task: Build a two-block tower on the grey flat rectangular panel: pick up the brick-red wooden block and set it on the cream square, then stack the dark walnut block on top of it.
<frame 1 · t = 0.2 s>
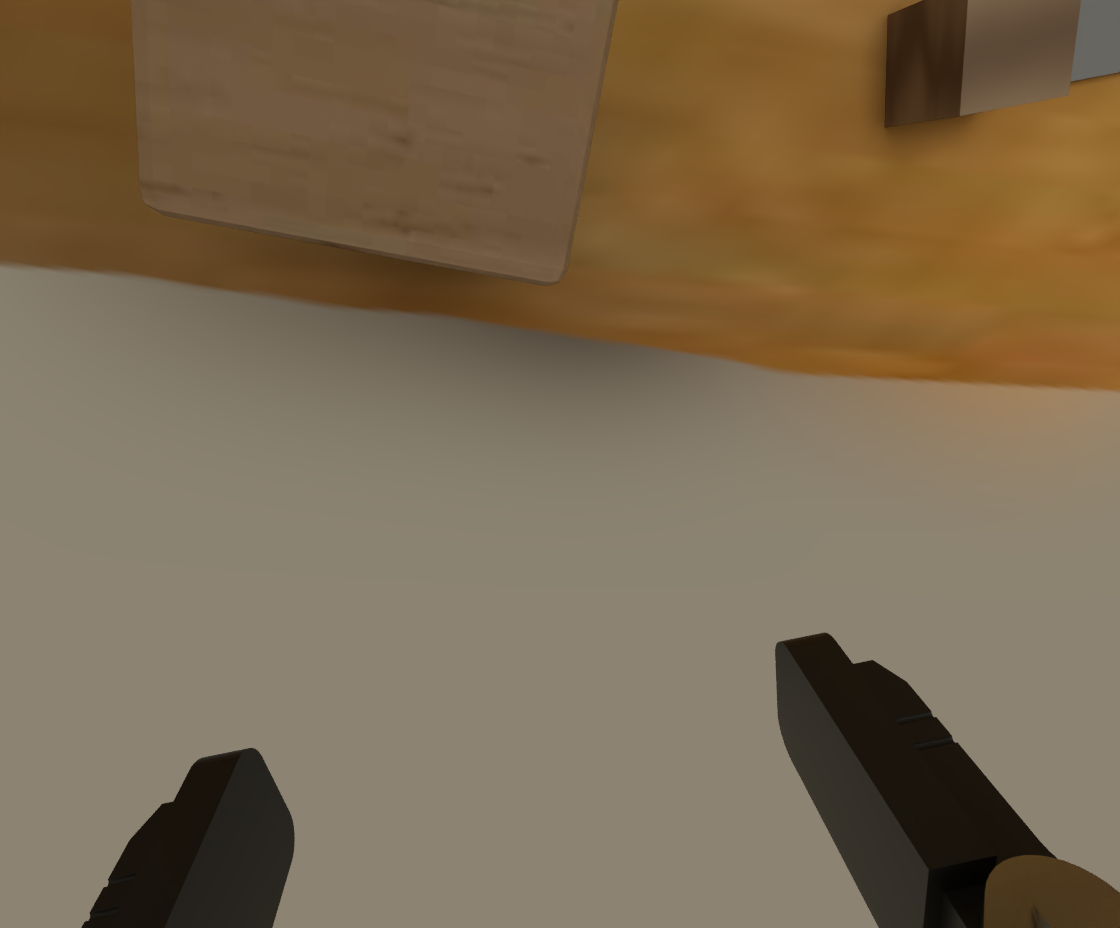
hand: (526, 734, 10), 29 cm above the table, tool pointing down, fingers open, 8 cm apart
walnut block: (933, 64, 33), on the table
wooden block: (443, 111, 32), on the table
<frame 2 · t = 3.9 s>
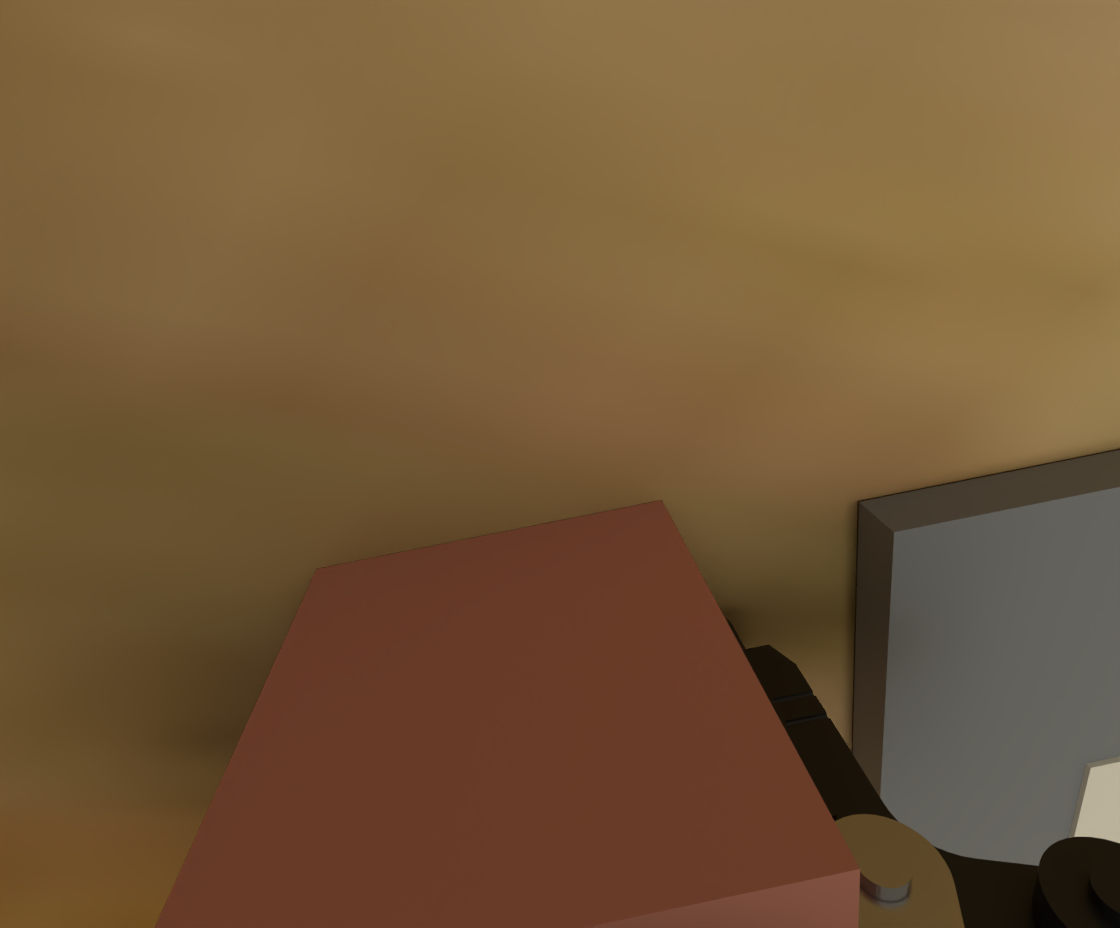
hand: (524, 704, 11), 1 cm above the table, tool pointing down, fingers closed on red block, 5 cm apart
red block: (523, 669, 11), on the table, touching gripper
when the fingers open (3 cm above the table, at t = 9.7 s): red block drops 1 cm, resting on grey flat rectangular panel.
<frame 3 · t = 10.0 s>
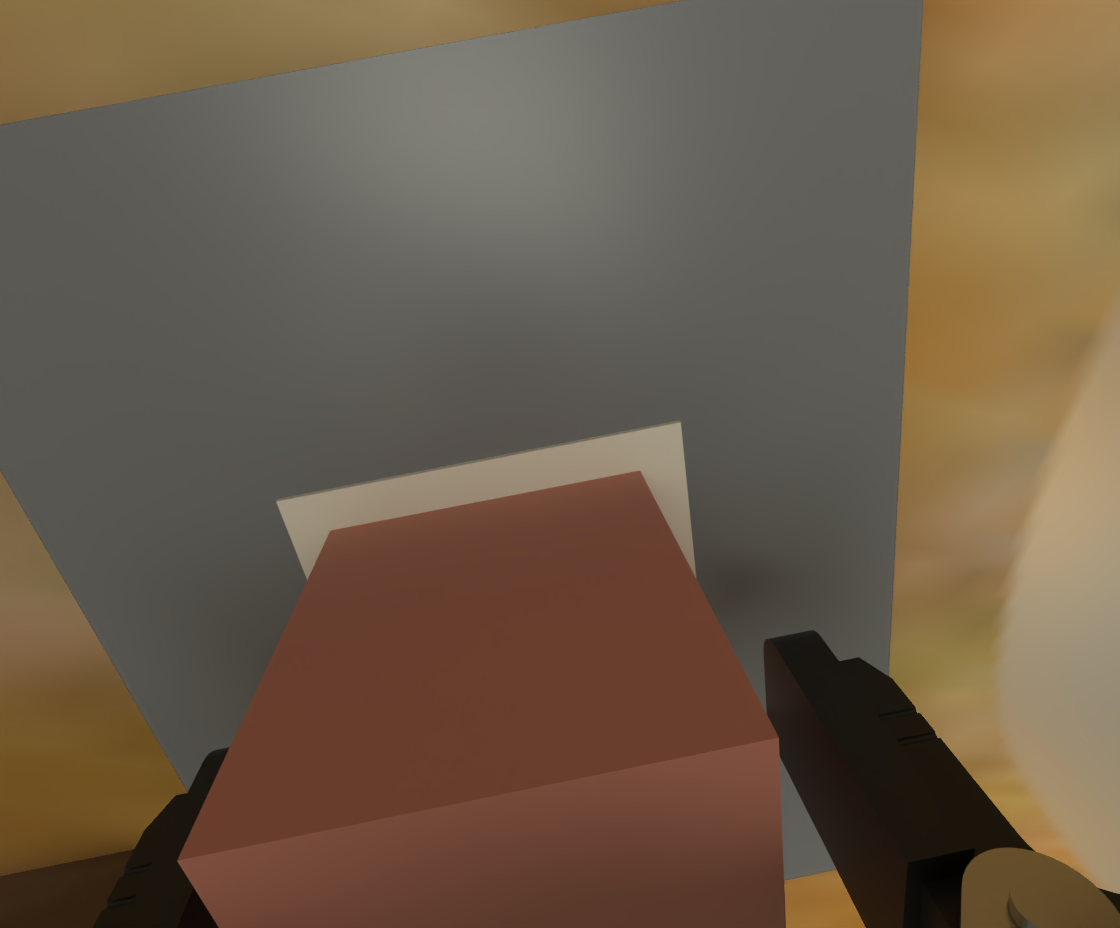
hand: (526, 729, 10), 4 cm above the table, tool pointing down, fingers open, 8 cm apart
red block: (516, 625, 12), point 1 cm above the table, touching grey flat rectangular panel
grey flat rectangular panel: (517, 592, 13), on the table
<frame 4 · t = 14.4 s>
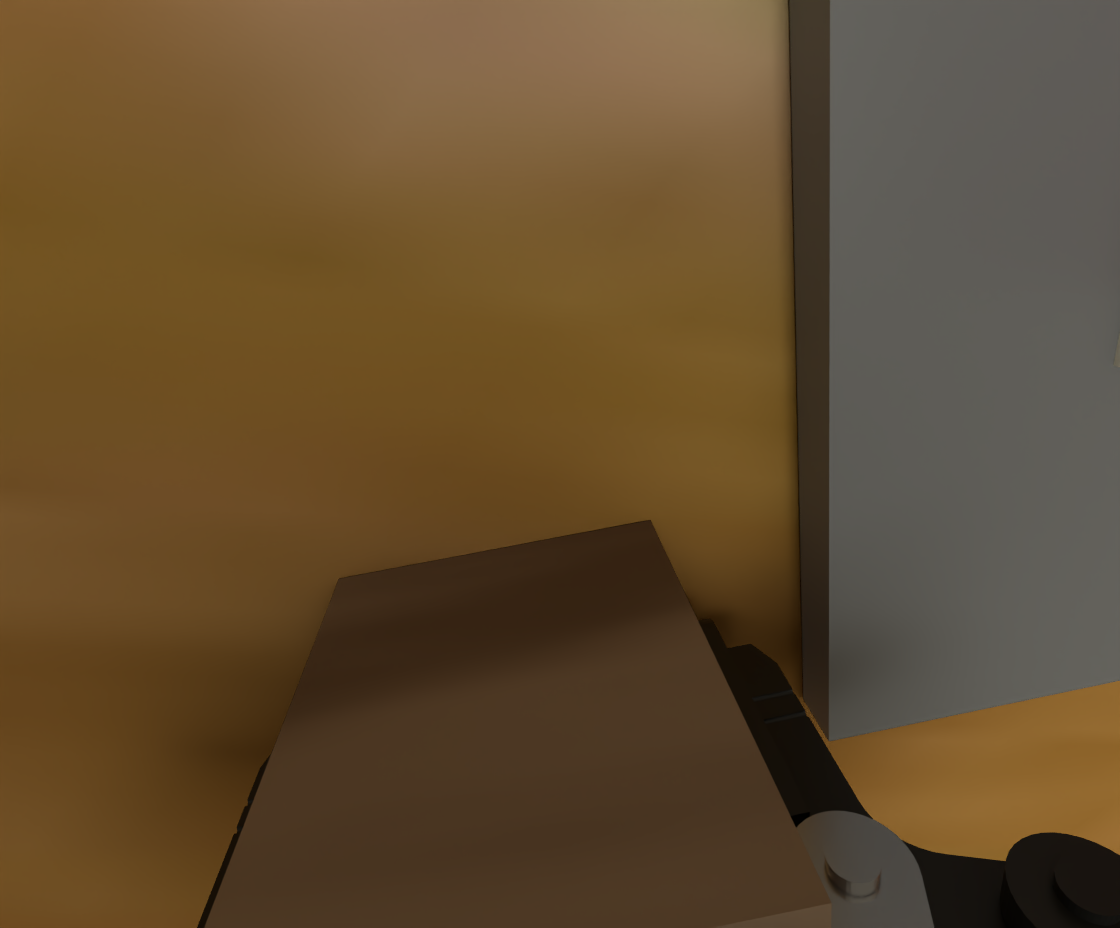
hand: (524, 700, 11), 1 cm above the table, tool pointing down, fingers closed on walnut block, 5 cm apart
walnut block: (523, 670, 11), on the table, touching gripper
when the fingers open (9 cm above the table, at t = 19.4 s): walnut block drops 1 cm, resting on red block.
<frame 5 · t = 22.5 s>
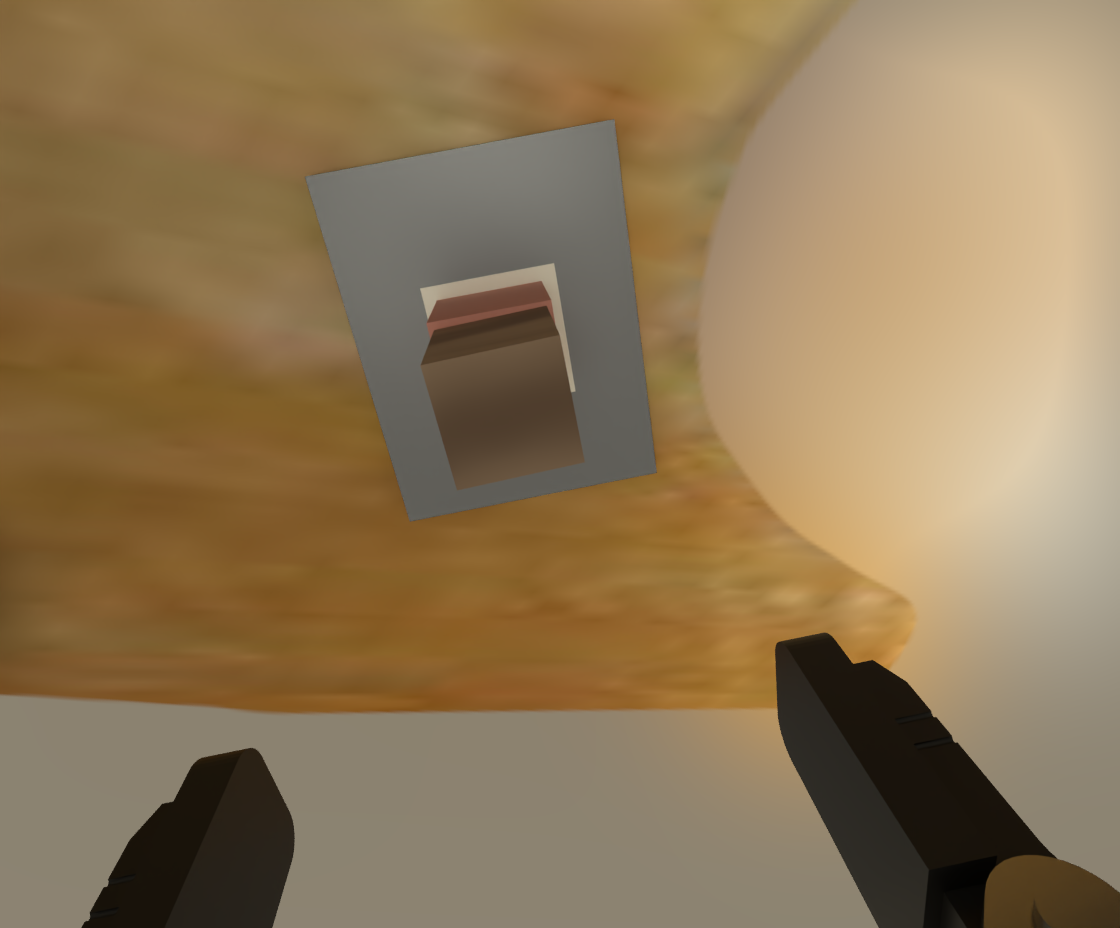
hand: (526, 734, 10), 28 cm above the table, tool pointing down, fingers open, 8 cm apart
red block: (499, 342, 35), point 1 cm above the table, touching grey flat rectangular panel, walnut block
walnut block: (503, 372, 29), point 7 cm above the table, touching red block
grey flat rectangular panel: (500, 337, 36), on the table
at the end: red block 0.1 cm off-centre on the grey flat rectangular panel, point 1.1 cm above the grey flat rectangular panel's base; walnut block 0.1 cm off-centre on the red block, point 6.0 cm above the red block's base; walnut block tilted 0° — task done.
